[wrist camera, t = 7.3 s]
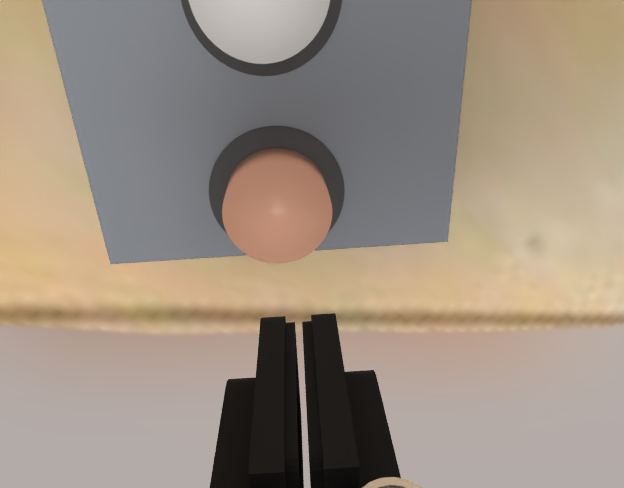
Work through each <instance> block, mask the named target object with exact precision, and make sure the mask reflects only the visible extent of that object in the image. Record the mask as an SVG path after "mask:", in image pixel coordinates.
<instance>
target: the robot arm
mask: <svg viewBox="0 0 624 488" xmlns="http://www.w3.org/2000/svg"><path fill="white" fill-rule="evenodd" d="M311 319H312V321H308V322H302V324H303V344H304V363H305V384H306V402H307V403H306V404H307V424H308V442H309V443H308V444H309V463H310V481H311V488H422V487H421V486H419V485H417V484H415V483H413V482H411V481H409V480H406V479H401V477H400V473H399V469H398V464H397V461H396V456H395V452H394V448H393V444H392V440H391V435H390V431H389V427H388V423H387V419H386V415H385V411H384V406H383V402H382V398H381V394H380V390H379V386H378V382H377V378H376V374H375V372H374V370H371V371H353V372H344V366H343V359H342V354H341V346H340V341H339V334H338V327H337V321H336V315H335V313H334V314H318V315H311ZM301 430H302V428H301V408H300V393H299V378H298V363H297V348H296V333H295V322H292V323H286V320H285V316H284V317H267V318H261V322H260V334H259V347H258V358H257V371H256V378H242V379H229V380H228V381H227V384H226V389H225V395H224V402H223V408H222V414H221V420H220V427H219V433H218V440H217V445H216V452H215V458H214V464H213V471H212V477H211V483H210V488H304V484H303V457H302V431H301Z"/></svg>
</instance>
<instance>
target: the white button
mask: <svg viewBox="0 0 624 488" xmlns="http://www.w3.org/2000/svg"><path fill="white" fill-rule="evenodd" d="M188 1H189V4H190V7H191V10H192V12H193V15H194V17H195V19H196V21H197V23H198V25H199V26H200V28H201V30H202V31H203V32H204V33H205V35H206V36H207V37H208V38H209V39H210V40H211V41H212V43H213V44H214V45H216V46H217V47H218V48H219V49H221V50H222V51H223V52H225V53H227V54H228V55H230V56H232V57H234V58H236V59H239V60H242V61H245V62H249V63H255V64H268V63H275V62H279V61H283V60H285V59H288V58H290V57H292V56H294V55H295V54H297V53H299V52H300V51H301V50H303V49H304V48H305V47H306V46H307V45H308V44H309V43H310V42H311V41H312V40H313V39H314V37H315V36H316V35H317V33H318V32H319V30H320V28H321V26H322V25H323V22H324V20H325V18H326V15H327V12H328V8H329V4H330V0H188Z"/></svg>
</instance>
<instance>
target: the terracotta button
mask: <svg viewBox="0 0 624 488" xmlns="http://www.w3.org/2000/svg"><path fill="white" fill-rule="evenodd" d="M222 218H223V223H224V227H225V230H226V232H227V234H228V236H229V238H230V239H231V240H232V242H233V243H234V244H235V245H236V246H237V247H238V248H239V249H240V250H241V251H242V252H244V253H245V254H247V255H248V256H250V257H252V258H254V259H257V260H260V261H264V262H269V263H285V262H291V261H295V260H298V259H300V258H302V257H304V256H306V255H308V254H309V253H311V252H312V251H314V250H315V249H316V248H317V247H318V246H319V245H320V244H321V243H322V241H323V240H324V238H325V237H326V235H327V233H328V231H329V228H330V226H331V221H332V203H331V199H330V196H329V192H328V189H327V185H326V182H325V179H324V177H323V175H322V173H321V171H320V170H319V168H318V167H317V166H316V165H315V163H314V162H313V161H312V160H310V159H309V158H308V157H306V156H305V155H303V154H301V153H299V152H297V151H294V150H291V149H287V148H267V149H263V150H259V151H257V152H254V153H252V154H251V155H249V156H247V157H246V158H245V159H243V160H242V161H241V162H240V163H239V164H238V165H237V167H236V168H235V169H234V171H233V173H232V174H231V176H230V179H229V182H228V185H227V189H226V193H225V197H224V201H223V206H222Z"/></svg>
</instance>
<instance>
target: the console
mask: <svg viewBox="0 0 624 488" xmlns="http://www.w3.org/2000/svg"><path fill="white" fill-rule="evenodd" d="M471 1H472V0H330V4H329V8H328V12H327V15H326V18H325V20H324V22H323V25H322V26H321V28H320V30H319V32H318V33H317V35H316V36H315V37H314V39H313V40H312V41H311V42H310V43H309V44H308V45H307V46H306V47H305V48H304V49H303V50H301V51H300V52H299V53H297V54H295V55H294V56H292V57H290V58H288V59H285V60H283V61H279V62H275V63H268V64H255V63H249V62H245V61H242V60H239V59H236V58H234V57H232V56H230V55H228V54H227V53H225V52H223V51H222V50H221V49H219V48H218V47H217V46H216V45H214V44H213V43H212V41H211V40H210V39H209V38H208V37H207V36H206V35H205V33H204V32H203V31H202V30H201V28H200V26H199V25H198V23H197V21H196V19H195V17H194V15H193V12H192V10H191V7H190V4H189V1H188V0H42V2H43V6H44V10H45V14H46V18H47V22H48V25H49V29H50V33H51V37H52V41H53V45H54V48H55V52H56V56H57V60H58V64H59V68H60V71H61V75H62V79H63V83H64V87H65V91H66V95H67V98H68V102H69V106H70V110H71V114H72V118H73V121H74V125H75V129H76V133H77V137H78V141H79V144H80V148H81V152H82V156H83V160H84V164H85V168H86V171H87V175H88V179H89V183H90V187H91V191H92V194H93V198H94V202H95V206H96V210H97V214H98V217H99V221H100V225H101V229H102V233H103V237H104V241H105V244H106V248H107V252H108V256H109V260H110V264H120V263H135V262H150V261H165V260H180V259H195V258H210V257H225V256H240V255H247V254H245V253H244V252H242V251H241V250H240V249H239V248H238V247H237V246H236V245H235V244H234V243H233V242H232V240H231V239H230V238H229V236H228V234H227V232H226V230H225V227H224V223H223V218H222V206H223V201H224V197H225V193H226V189H227V185H228V182H229V179H230V176H231V174H232V173H233V171H234V169H235V168H236V167H237V165H238V164H239V163H240V162H241V161H242V160H243V159H245V158H246V157H247V156H249V155H251V154H252V153H254V152H257V151H259V150H263V149H267V148H287V149H291V150H294V151H297V152H299V153H301V154H303V155H305V156H306V157H308V158H309V159H310V160H312V161H313V162H314V163H315V165H316V166H317V167H318V168H319V170H320V171H321V173H322V175H323V177H324V179H325V182H326V185H327V189H328V192H329V196H330V199H331V203H332V221H331V226H330V228H329V231H328V233H327V235H326V237H325V238H324V240H323V241H322V243H321V244H320V245H319V246H318V247H317V248H316V249H315V250H330V249H345V248H360V247H375V246H389V245H404V244H419V243H434V242H448V232H449V222H450V212H451V202H452V192H453V182H454V172H455V162H456V152H457V142H458V132H459V121H460V111H461V101H462V91H463V81H464V71H465V61H466V51H467V41H468V31H469V21H470V11H471ZM315 250H314V251H315Z"/></svg>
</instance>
